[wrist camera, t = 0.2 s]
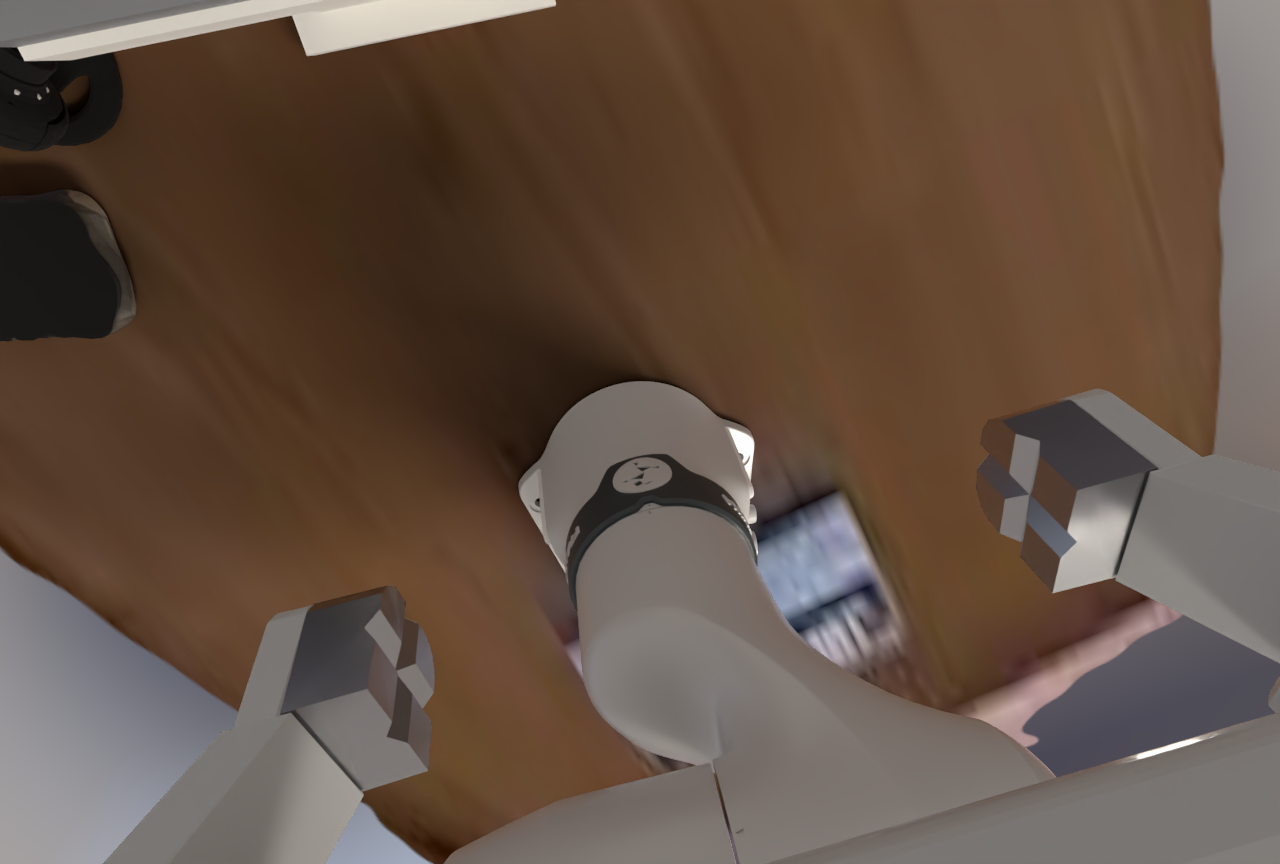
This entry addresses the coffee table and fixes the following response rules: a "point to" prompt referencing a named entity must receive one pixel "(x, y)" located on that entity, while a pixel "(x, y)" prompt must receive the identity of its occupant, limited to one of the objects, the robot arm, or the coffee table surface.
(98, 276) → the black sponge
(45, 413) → the coffee table surface
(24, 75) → the webcam
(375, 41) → the tester stand
